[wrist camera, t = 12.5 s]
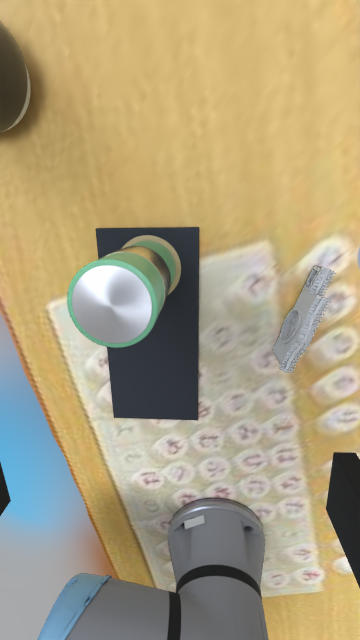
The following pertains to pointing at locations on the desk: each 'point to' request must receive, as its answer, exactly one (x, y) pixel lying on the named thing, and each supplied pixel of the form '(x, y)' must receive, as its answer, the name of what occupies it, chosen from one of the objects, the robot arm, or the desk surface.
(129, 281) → the can
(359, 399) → the desk surface
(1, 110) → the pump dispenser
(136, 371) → the mat
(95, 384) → the desk surface
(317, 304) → the garden wall model
